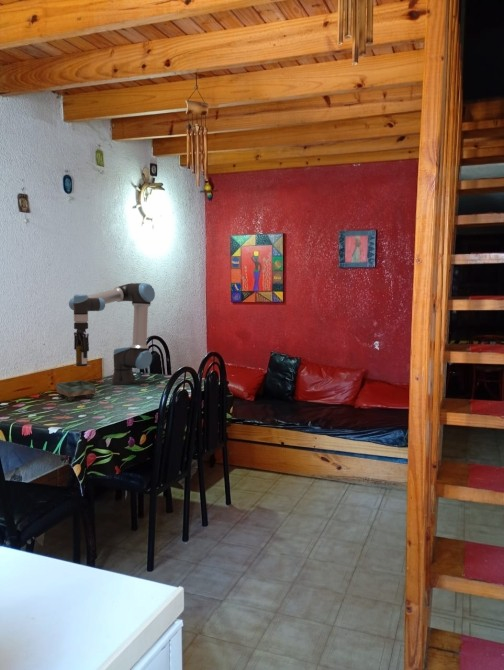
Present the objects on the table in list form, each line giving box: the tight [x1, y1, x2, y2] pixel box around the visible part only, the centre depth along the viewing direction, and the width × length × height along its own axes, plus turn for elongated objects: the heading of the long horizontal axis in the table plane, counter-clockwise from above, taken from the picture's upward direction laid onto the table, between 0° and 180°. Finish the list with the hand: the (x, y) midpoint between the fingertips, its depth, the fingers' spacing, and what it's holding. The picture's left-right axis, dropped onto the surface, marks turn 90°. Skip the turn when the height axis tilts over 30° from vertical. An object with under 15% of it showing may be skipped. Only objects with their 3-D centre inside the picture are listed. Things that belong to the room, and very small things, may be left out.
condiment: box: [73, 344, 91, 368], centre depth 297 cm, size 7×8×12 cm
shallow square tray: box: [56, 379, 96, 402], centre depth 298 cm, size 15×17×8 cm
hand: (81, 363), depth 298 cm, fingers closed on condiment, 6 cm apart
